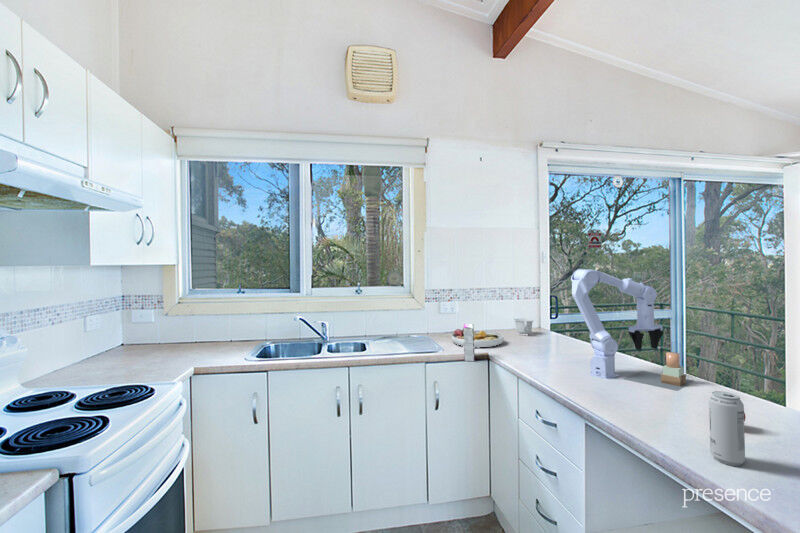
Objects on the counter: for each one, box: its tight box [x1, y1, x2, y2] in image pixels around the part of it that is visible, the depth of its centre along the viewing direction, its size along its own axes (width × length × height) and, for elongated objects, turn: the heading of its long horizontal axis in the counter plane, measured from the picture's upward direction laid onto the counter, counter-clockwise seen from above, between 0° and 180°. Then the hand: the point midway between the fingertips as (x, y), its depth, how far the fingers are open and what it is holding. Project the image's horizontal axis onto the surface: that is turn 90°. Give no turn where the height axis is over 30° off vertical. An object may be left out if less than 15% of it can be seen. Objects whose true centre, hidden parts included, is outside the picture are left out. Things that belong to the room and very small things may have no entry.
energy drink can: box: [708, 390, 746, 467], centre depth 85 cm, size 6×6×15 cm
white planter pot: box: [513, 317, 534, 335], centre depth 239 cm, size 12×15×10 cm
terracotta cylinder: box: [665, 351, 681, 368], centre depth 138 cm, size 4×4×5 cm
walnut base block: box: [660, 373, 687, 386], centre depth 138 cm, size 6×6×3 cm
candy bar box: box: [462, 323, 476, 362], centre depth 183 cm, size 11×5×16 cm, turn 168°
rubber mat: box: [622, 370, 695, 392], centre depth 142 cm, size 18×18×1 cm
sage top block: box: [662, 364, 685, 378], centre depth 138 cm, size 5×5×3 cm
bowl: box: [450, 328, 504, 348], centre depth 219 cm, size 30×30×8 cm
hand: (646, 348), depth 151 cm, fingers open, 7 cm apart
